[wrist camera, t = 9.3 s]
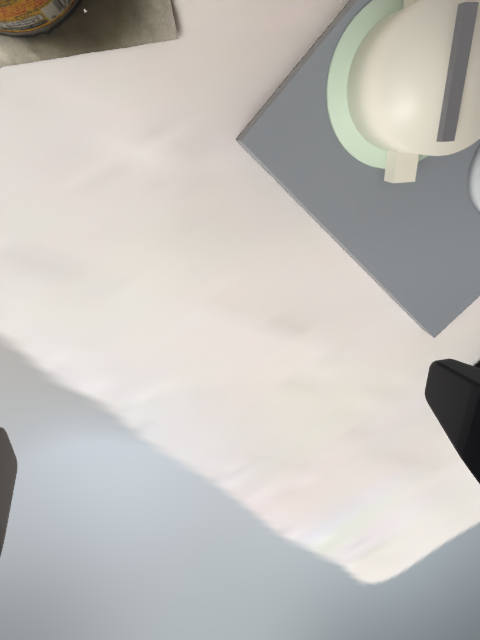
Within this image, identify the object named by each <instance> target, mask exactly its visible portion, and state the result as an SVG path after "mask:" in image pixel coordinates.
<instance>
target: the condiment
mask: <svg viewBox="0 0 480 640" xmlns="http://www.w3.org/2000/svg"><path fill="white" fill-rule="evenodd" d="M83 9H86V10H87V12H86V13H84V11H83ZM174 39H178V36H177V31H176V26H175V20H174V16H173V11H172V6H171V0H0V67H4V66H8V65H17V64H24V63H31V62H37V61H41V60H49V59H55V58H61V57H69V56H73V55H78V54H84V53H90V52H98V51H105V50H112V49H118V48H127V47H131V46H137V45H142V44H147V43H154V42H161V41H168V40H174Z"/></svg>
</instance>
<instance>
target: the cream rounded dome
mask: <svg viewBox="0 0 480 640" xmlns="http://www.w3.org/2000/svg"><path fill="white" fill-rule="evenodd" d="M347 103H348V109H349V113H350V116H351V119H352V122H353V124H354V125H355V127H356V129H357V131H358V132H359V133H360V135H361V136H362V137H363V138H364V139H365V140H366V141H368V142H369V143H370V144H372V145H374V146H375V147H377V148H380V149H383V150H387V158H386V167H385V176H384V181H386V182H390V183H405V182H415V178H416V171H417V164H418V157H419V154H421V155H429V156H444V155H450V154H453V153H456V152H459V151H461V150H463V149H465V148H467V147H469V146H470V145H472V144H473V143H475V142H476V141H477V140H479V139H480V0H404V5H403V9H401V10H398V11H396V12H394V13H392V14H390V15H388V16H386V17H385V18H383V19H382V20H381V21H379V22H378V23H377V24H376V25H375V26H374V27H373V28H372V29H371V30H370V31H369V32H368V33H367V35H366V36H365V37H364V39H363V40H362V42H361V43H360V45H359V47H358V48H357V51H356V53H355V55H354V57H353V60H352V63H351V66H350V70H349V74H348V81H347Z"/></svg>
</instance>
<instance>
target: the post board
mask: <svg viewBox="0 0 480 640" xmlns="http://www.w3.org/2000/svg"><path fill="white" fill-rule="evenodd" d="M403 5H404V0H350V1H349V2H348V4H347V5H346V6H345V7H344V9H343V10H342V11H341V12H340V13H339V15H338V16H337V17H336V18H335V19H334V21H333V22H332V23H331V24H330V26H329V27H328V28H327V29H326V30H325V32H324V33H323V34H322V35H321V37H320V38H319V39H318V40H317V41H316V43H315V44H314V45H313V46H312V48H311V49H310V50H309V51H308V52H307V54H306V55H305V56H304V57H303V58H302V60H301V61H300V62H299V63H298V65H297V66H296V67H295V68H294V69H293V71H292V72H291V73H290V74H289V76H288V77H287V78H286V79H285V80H284V82H283V83H282V84H281V85H280V87H279V88H278V89H277V90H276V91H275V93H274V94H273V95H272V96H271V97H270V99H269V100H268V101H267V102H266V104H265V105H264V106H263V107H262V108H261V110H260V111H259V112H258V113H257V115H256V116H255V117H254V118H253V119H252V121H251V122H250V123H249V124H248V126H247V127H246V128H245V129H244V130H243V132H242V133H241V134H240V135H239V136H238V138H237V139H236V141H237V142H238V143H239V144H240V145H241V146H242V147H243V148H244V149H245V150H246V151H247V152H248V153H249V154H250V155H251V156H252V157H253V158H254V159H255V160H256V161H257V162H258V163H259V164H260V165H261V166H262V167H263V168H264V169H265V170H266V171H267V172H268V173H269V174H270V175H271V176H272V177H273V178H274V179H275V180H276V181H277V182H278V183H279V184H280V185H281V186H282V187H283V188H284V189H285V190H286V191H287V192H288V193H289V194H290V196H291V197H292V198H293V199H294V200H295V201H296V202H297V203H298V204H299V205H300V206H301V207H302V208H303V209H304V210H305V211H306V212H307V213H308V214H309V215H310V216H311V217H312V218H313V219H314V220H315V221H316V222H317V223H318V224H319V225H320V226H321V227H322V228H323V229H324V230H325V231H326V232H327V233H328V234H329V235H330V236H331V237H332V238H333V239H334V240H335V241H336V242H337V243H338V244H339V245H340V246H341V247H342V248H343V249H344V250H345V251H346V252H347V253H348V254H349V255H350V256H351V257H352V258H353V259H354V260H355V261H356V262H357V263H358V264H359V265H360V266H361V267H362V268H363V269H364V270H365V271H366V272H367V273H368V274H369V275H370V277H371V278H372V279H373V280H374V281H375V282H376V283H377V284H378V285H379V286H380V287H381V288H382V289H383V290H384V291H385V292H386V293H387V294H388V295H389V296H390V297H391V298H392V299H393V300H394V301H395V302H396V303H397V304H398V305H399V306H400V307H401V308H402V309H403V310H404V311H405V312H406V313H407V314H408V315H409V316H410V317H411V318H412V319H413V320H414V321H415V322H416V323H417V324H418V325H419V326H420V327H421V328H422V329H423V330H425V331H426V332H427V333H428V334H430V335H431V336H432V337H434V338H435V337H436V336H437V335H438V334H439V333H440V332H441V331H442V330H443V329H444V328H446V327H447V326H448V325H449V324H450V323H451V322H452V321H453V320H454V319H455V318H456V317H457V316H458V315H460V314H461V313H462V312H463V311H464V310H465V309H466V308H467V307H468V306H469V305H470V304H471V303H472V302H474V301H475V300H476V299H477V298H478V297H479V296H480V139H479V140H477V141H476V142H475V143H473V144H472V145H470V146H469V147H467V148H465V149H463V150H461V151H459V152H456V153H453V154H450V155H444V156H429V155H421V154H419V157H418V164H417V171H416V178H415V182H405V183H390V182H386V181H384V176H385V167H386V158H387V150H383V149H380V148H377V147H375V146H374V145H372V144H370V143H369V142H368V141H366V140H365V139H364V138H363V137H362V136H361V135H360V133H359V132H358V131H357V129H356V127H355V125H354V124H353V122H352V119H351V116H350V113H349V109H348V103H347V81H348V74H349V70H350V66H351V63H352V60H353V57H354V55H355V53H356V51H357V48H358V47H359V45H360V43H361V42H362V40H363V39H364V37H365V36H366V35H367V33H368V32H369V31H370V30H371V29H372V28H373V27H374V26H375V25H376V24H377V23H378V22H379V21H381V20H382V19H383V18H385V17H386V16H388V15H390V14H392V13H394V12H396V11H398V10H401V9H403Z"/></svg>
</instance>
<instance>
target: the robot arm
mask: <svg viewBox="0 0 480 640" xmlns="http://www.w3.org/2000/svg"><path fill="white" fill-rule="evenodd" d="M425 397H426V400H427V402H428V404H429V406H430V408H431V409H432V411H433V413H434V414H435V416H436V418H437V419H438V421H439V423H440V424H441V426H442V428H443V429H444V431H445V433H446V434H447V436H448V438H449V439H450V441H451V443H452V444H453V446H454V448H455V449H456V451H457V452H458V454H459V456H460V457H461V459H462V460H463V462H464V463H465V464H466V466H467V467H468V469H469V470H470V471H471V473H472V474H473V475H474V477H475V478H476V480H477V481H478V482H479V484H480V364H479V365H477V366H476V367H474V366H471V365H468V364H465V363H462V362H459V361H456V360H453V359H444V360H438V361H434V362H432V364H431V365H430V368H429V373H428V378H427V383H426V388H425ZM16 474H17V460H16V456H15V453H14V451H13V448H12V445H11V443H10V440H9V437H8V435H7V432H6V431H5V429H4V428H2V427H0V556H1V552H2V548H3V544H4V539H5V534H6V528H7V523H8V518H9V512H10V507H11V501H12V495H13V490H14V485H15V479H16Z"/></svg>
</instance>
